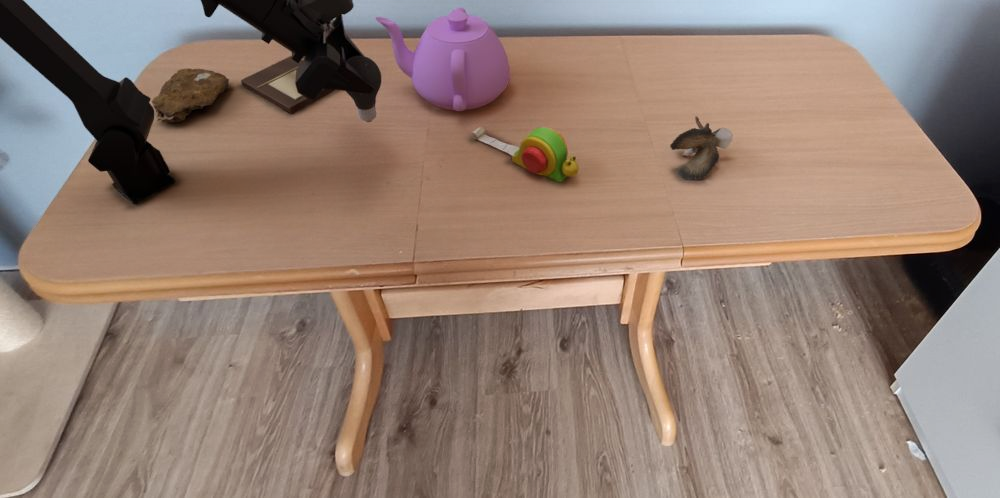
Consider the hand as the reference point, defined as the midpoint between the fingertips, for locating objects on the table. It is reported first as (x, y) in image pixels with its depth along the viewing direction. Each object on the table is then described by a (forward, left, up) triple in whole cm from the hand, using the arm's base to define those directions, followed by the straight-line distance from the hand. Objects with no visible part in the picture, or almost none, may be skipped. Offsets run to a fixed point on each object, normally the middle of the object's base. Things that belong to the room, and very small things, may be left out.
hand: (371, 79), depth 81 cm
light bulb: (-1, +1, -7) cm, 7 cm away
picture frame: (+6, +28, -13) cm, 31 cm away
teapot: (+20, +5, -13) cm, 24 cm away
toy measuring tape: (+13, -17, -13) cm, 25 cm away
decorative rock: (-11, +36, -13) cm, 40 cm away
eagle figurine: (+29, -38, -13) cm, 50 cm away
